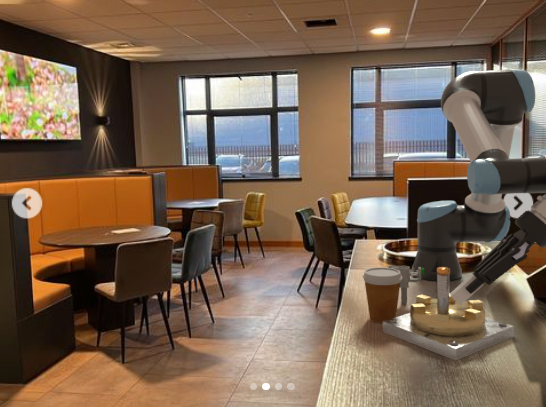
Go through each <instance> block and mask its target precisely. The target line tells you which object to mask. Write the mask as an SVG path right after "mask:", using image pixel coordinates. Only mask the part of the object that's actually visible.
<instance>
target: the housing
mask: <svg viewBox="0 0 546 407" xmlns="http://www.w3.org/2000/svg"><path fill="white" fill-rule="evenodd" d="M382 332H383V333H384V334H388V335H389V336H390V335H391V336H393V337H395V338H397V339H399V340H403V341H406V342H408V343H410V344H413V345H415V346H418V347H420V348H423V349H425V350H428V351H430V352H432V353H436V354H438V355H440V356H443V357H445V358H448V359H451V360H452V361H455V362H456V361H458V360H461V359H463V358H466V357H468V356H471V355H473V354H477V353H479V352H481V351H483V350H486V349H488V348H490V347H492V346H495V345H498V344H500V343H502V342H505V341H507V340H509V339H513V338H515V326H514V325H512V324H509V323H505V322H502V321H498V320H495V319H492V318H490V317H486V316H485V328H484V330H482V331H481V332H478V333H476V334H471V335H464V336H448V335H439V334H434V333H429V332H426V331H423V330H420V329H418V328H416V327H415V326H413V325H412V324H411V322H410V312H409V313H404V314H402V315H399V316H396V317H395V318H392V319H389V320H385V321H383V323H382Z"/></svg>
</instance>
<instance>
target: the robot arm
mask: <svg viewBox="0 0 546 407" xmlns="http://www.w3.org/2000/svg"><path fill="white" fill-rule="evenodd" d="M445 86H446V87H445V88H444V90H443V92H442V94H441V98H440V108H441V111H442V113H443V116H444V118H445V119H446V120H447V121H449V122H450V123H452V125H453V127H454V130H455V131H456V133H457V136H458V139H459V140H460V142H461V144H462V146H463V148H464V151H465V153H466V156H467V157H468V159H469V161H470V163H469V164H468V166H467V172H466V179H467V186H468V188H469V190H470V192H471V193H470V194H469V195H467V196H466V197H465V198H464V204H463V205H461V204H460V205H459V204H457V202H456V201H455V200H439V201H431V202H427V203H424V204H422V205H420V206H419V208H418V209H417V219H416V222H417V251H416V255H415V258H414V260H413V261H414V262H413V264H412V265H411V266H412V267H411V272H416V270H418V267H421V268H424V274H421V280H424V281H425V280H426V281H433V282H434V281H435V282H437V268H438V267H447V268H450V274H449V281H455V280H458V279H461V277H462V275H463V274H462V272H463V271H462V267H461V264H460V261H459V260H460V259H459V257H458V255H457V243H483V242H484V243H491V242H499V243H498V244H496V246H495V247H494V248H493V249H492V250H491V251H490V252H489V253H488V254H487V255H486V256H485V257H484V258H483V259H481V261H479V263H478V264H477V265H475V266H474V271H472V273H471V274H470V275H469V276H468V277H466V279H465V280H463V281H462V282H461V283H460V284H459V285H458V286H456V288H454V289H453V290H452V291H451V292H449V293H450V295H451V297H452V298H453V299H454V300H455V301H456V302H457V303H458V304H459V305H461V304H463V303H464V302H465V301H468V300H469V298H471V297H472V296H473V295H474V294H475V293H476V292H477V291H478V290H480V289H481V288H482V287H483V286H486V285H487V286H490V285H491V284H492V283H494V282H495V281H496V280H498V279H499V278H500V277H501V276H503V275H505V274H507V272H508V271H510V270H511V269H512V268H514V267H515V266H517V264H519V263H521V262H523V261H524V260H526V259H527V258H528V255H527V254H528V253H529V252H530V249H531V247H532V246H533V245H534V244H536V245H537V246H538V247H540V248H546V154H543V155H540V156H538V157H529V158H528V157H526V158H524V157H521V158H510V153H511V148H512V143H513V138H514V132H515V127H516V126H518V125H520V124H521V123H522V122H523V117H524V114H528V113H531V112H532V111H533V109H534V107H535V104H536V87H535V83H534V81H533V78H532V76H531V74H530V73H529V72H528V71H527V70H524V69H512V68H508V69H494V70H479V71H478V70H477V71H476V70H471V71H466V72H463V73H460V74H459V75H457V76H456V77H454V78H453V79H451V81H449V82H448V84H447V85H445ZM507 194H509V195H510V194H543V195H538V196H537V197H536V200H537V201H536V202H534V203H533V204H532V205H531V206H530V209H531V210H525V211H524V212H523V213H522V214H521V215H520V216H518V217H517V218H516V219H515V221H514V224H515V225H516V226H517V227H518V228H519V230H517V231H516V232H514V233H511V234H509V235H507V234H508V232H509V231H510V226H511V220H510V219H511V213H510V209H509V207H508V206H507V204H506V202H505V201H504V199H503V198H502V197H503V195H507ZM414 277H415V278H418V277H419V276H414Z"/></svg>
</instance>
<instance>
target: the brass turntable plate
mask: <svg viewBox="0 0 546 407" xmlns="http://www.w3.org/2000/svg"><path fill="white" fill-rule="evenodd" d="M449 274H450V268H447V267H438V268H437V281H436V282H437V283H436V284H437V289H436V290H437V291H436V292H437V295H436V296H437V298H432V296H429V295H425V294H419V295H416V296H415V298H416V299H415V302H413V303H411V304H410V307H409V309H410V311H409V313H410V322H411V324H412V325H413V326H415V327H416V328H418V329H420V330H423V331H426V332H429V333H434V334H439V335H448V336H464V335H471V334H476V333H478V332H481V331H482V330H484V328H485V317H486V310H485V308H484V302H483V301H482V300H480V299H475V300H471V299H470V300H466V301H465V302H464V303H463V304H461V305H459V304H458V303H457V302H456V301H455V300H454V299H453V298H452V297H451V295H450V293H451V292H450V280H449Z"/></svg>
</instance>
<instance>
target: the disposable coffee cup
mask: <svg viewBox="0 0 546 407" xmlns="http://www.w3.org/2000/svg"><path fill="white" fill-rule="evenodd" d="M362 279H363V281H364V287H365V294H366V300H367V302H366V303H367V307H368V314H369V320H370V321H372V322H374V323H378V324H383V321H385V320H389V319H392V318H395V317H397V312H398V304H399V297H400V296H399V295H400V290H401V288H400V282H401V280H402V276H401V273H400V271H399V270H397V269H393V268H387V267H385V268H384V267H381V266H380V267H370V268H368V269H365V270H364V273H363V275H362Z"/></svg>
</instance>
